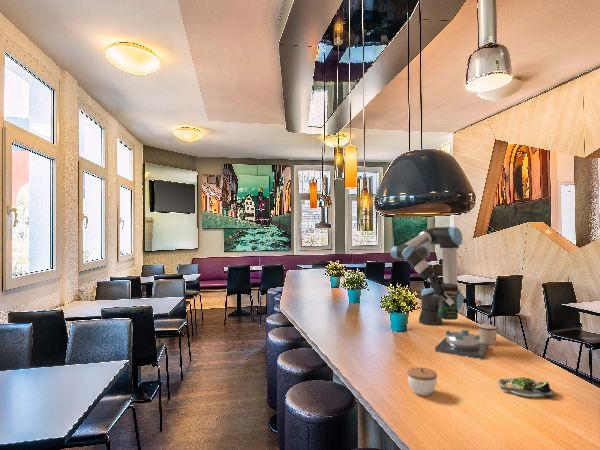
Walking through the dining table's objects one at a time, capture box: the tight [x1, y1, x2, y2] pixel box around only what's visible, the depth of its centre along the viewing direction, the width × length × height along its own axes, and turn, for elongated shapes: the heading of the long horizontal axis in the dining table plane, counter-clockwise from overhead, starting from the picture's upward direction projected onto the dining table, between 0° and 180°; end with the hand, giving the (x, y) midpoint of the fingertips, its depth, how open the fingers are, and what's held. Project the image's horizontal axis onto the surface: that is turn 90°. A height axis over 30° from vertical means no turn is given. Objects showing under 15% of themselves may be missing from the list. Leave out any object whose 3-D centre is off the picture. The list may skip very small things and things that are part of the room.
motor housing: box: [434, 329, 490, 360], centre depth 196 cm, size 22×22×8 cm
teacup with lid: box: [477, 321, 497, 346], centre depth 210 cm, size 12×9×12 cm
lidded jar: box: [407, 366, 438, 397], centre depth 143 cm, size 11×11×9 cm
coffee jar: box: [438, 283, 459, 321], centre depth 199 cm, size 10×8×19 cm
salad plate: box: [497, 376, 558, 398], centre depth 146 cm, size 19×18×5 cm
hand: (454, 302), depth 197 cm, fingers closed on coffee jar, 9 cm apart
